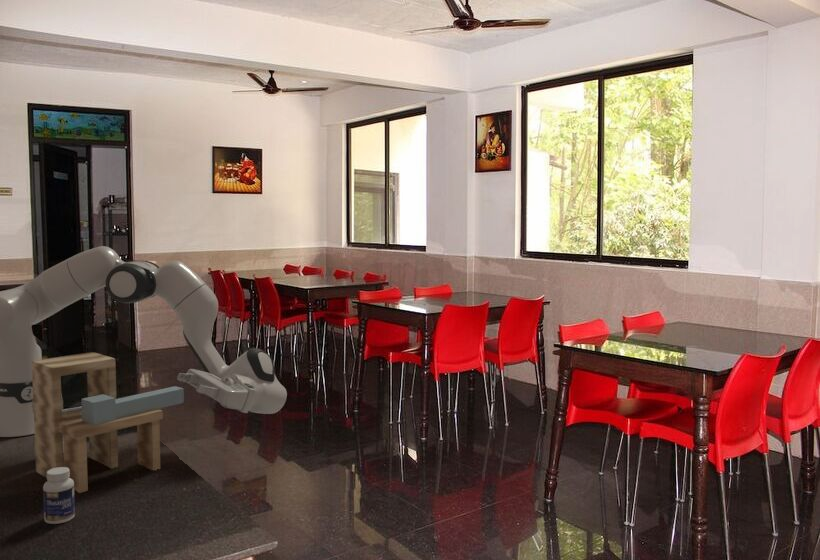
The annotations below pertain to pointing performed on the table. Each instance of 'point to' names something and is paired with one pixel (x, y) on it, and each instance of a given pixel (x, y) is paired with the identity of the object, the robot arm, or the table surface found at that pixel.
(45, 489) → the pill bottle
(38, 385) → the tall stand
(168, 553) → the table surface
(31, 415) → the robot arm
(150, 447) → the bench
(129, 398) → the rail
